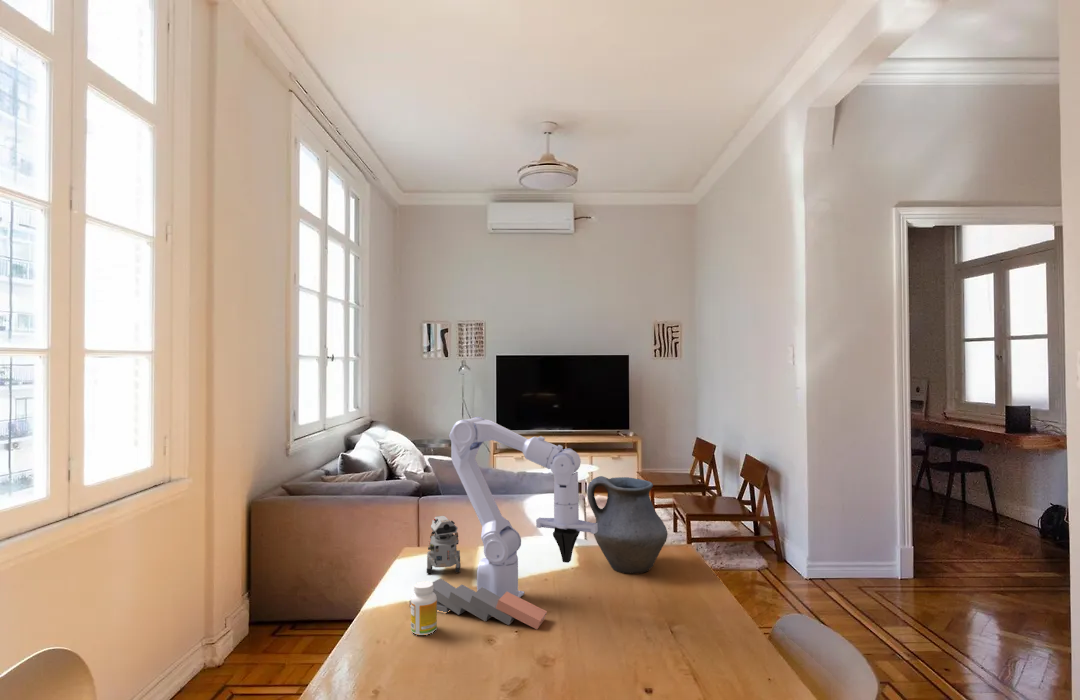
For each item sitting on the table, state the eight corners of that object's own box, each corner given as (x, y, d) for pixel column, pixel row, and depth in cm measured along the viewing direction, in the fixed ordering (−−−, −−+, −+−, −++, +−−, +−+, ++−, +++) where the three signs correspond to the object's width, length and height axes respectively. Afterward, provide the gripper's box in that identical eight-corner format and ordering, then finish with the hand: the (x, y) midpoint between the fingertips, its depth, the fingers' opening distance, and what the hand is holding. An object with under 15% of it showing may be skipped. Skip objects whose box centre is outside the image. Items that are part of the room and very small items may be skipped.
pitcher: (675, 581, 152) (674, 484, 153) (590, 581, 152) (589, 484, 153) (660, 555, 173) (659, 469, 173) (585, 556, 173) (584, 470, 174)
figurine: (424, 582, 153) (424, 524, 153) (428, 567, 164) (428, 513, 165) (459, 581, 154) (459, 523, 154) (461, 566, 165) (461, 512, 166)
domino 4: (508, 625, 127) (469, 603, 130) (517, 615, 132) (479, 594, 135) (511, 617, 127) (472, 595, 130) (520, 607, 132) (481, 587, 135)
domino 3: (485, 621, 129) (448, 600, 133) (495, 612, 134) (459, 592, 138) (488, 613, 129) (450, 592, 133) (498, 604, 134) (461, 584, 137)
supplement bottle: (441, 627, 127) (441, 581, 127) (428, 638, 122) (428, 590, 122) (419, 623, 128) (419, 578, 129) (405, 634, 123) (405, 587, 124)
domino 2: (458, 614, 132) (425, 592, 137) (471, 607, 137) (438, 585, 141) (461, 606, 132) (427, 584, 136) (473, 599, 136) (440, 578, 141)
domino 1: (446, 616, 134) (409, 609, 137) (458, 607, 138) (421, 601, 142) (446, 607, 134) (409, 600, 137) (458, 599, 138) (421, 593, 142)
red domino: (537, 629, 125) (495, 608, 128) (544, 619, 130) (504, 599, 133) (540, 621, 125) (498, 599, 128) (547, 611, 130) (506, 591, 133)
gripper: (530, 503, 137) (531, 562, 137) (590, 508, 132) (591, 570, 131) (542, 497, 144) (542, 553, 143) (600, 502, 138) (600, 560, 138)
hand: (566, 561), depth 138 cm, fingers closed
